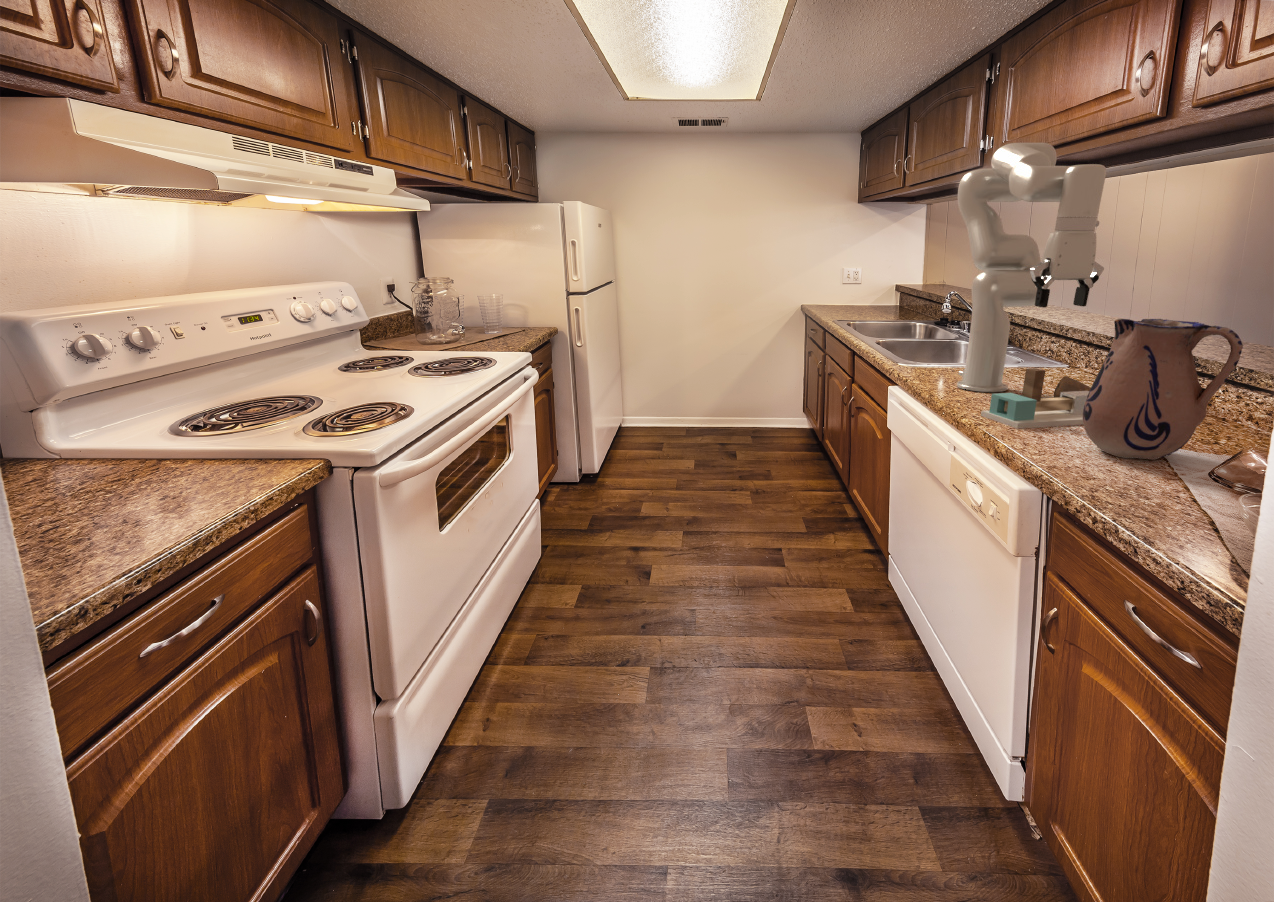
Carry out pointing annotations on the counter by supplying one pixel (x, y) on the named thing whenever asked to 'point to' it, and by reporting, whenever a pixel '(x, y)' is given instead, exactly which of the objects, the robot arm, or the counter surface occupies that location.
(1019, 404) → the socket block
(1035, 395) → the tan wooden l-shaped piece
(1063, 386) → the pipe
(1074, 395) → the sleeve
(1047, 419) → the base board
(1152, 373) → the ceramic pitcher
